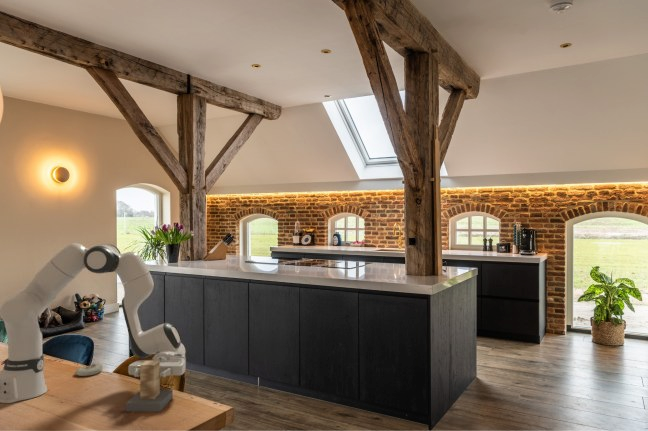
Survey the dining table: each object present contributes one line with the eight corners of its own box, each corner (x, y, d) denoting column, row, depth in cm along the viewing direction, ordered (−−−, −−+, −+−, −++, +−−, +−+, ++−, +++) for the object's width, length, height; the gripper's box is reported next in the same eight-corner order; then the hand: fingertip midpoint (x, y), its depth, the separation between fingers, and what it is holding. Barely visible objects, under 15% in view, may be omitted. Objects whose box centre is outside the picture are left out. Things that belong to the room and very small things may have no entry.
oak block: (140, 398, 166) (140, 365, 166) (146, 393, 171) (146, 360, 171) (154, 399, 166) (154, 365, 166) (159, 393, 171) (159, 360, 171)
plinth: (126, 411, 162) (126, 402, 162) (140, 398, 174) (140, 390, 174) (160, 411, 162) (160, 403, 162) (172, 398, 174) (172, 390, 174)
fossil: (89, 359, 210) (109, 363, 208) (88, 367, 210) (108, 371, 208) (71, 367, 199) (92, 371, 197) (70, 375, 199) (91, 379, 197)
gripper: (137, 354, 181) (120, 365, 168) (189, 355, 181) (177, 366, 167) (137, 370, 181) (120, 383, 168) (189, 371, 181) (177, 384, 167)
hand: (149, 374), depth 167 cm, fingers open, 8 cm apart
